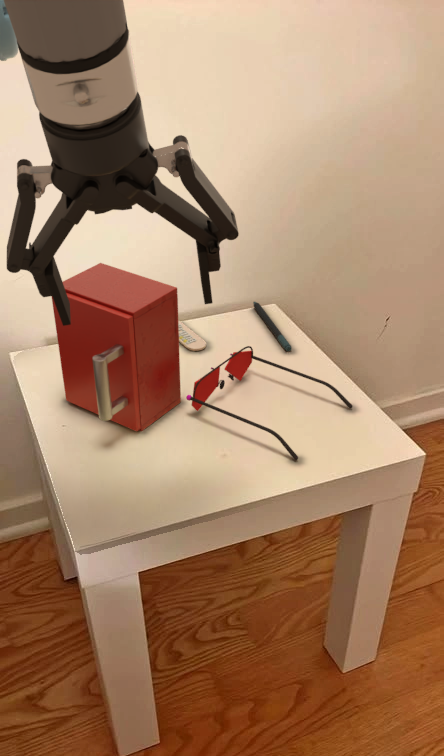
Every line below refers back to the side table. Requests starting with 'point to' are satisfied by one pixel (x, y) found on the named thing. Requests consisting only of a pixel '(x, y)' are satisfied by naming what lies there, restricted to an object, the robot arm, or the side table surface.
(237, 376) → the glasses
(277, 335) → the pen
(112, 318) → the door
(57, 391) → the side table surface
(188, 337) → the beige remote control
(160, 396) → the cabinet
